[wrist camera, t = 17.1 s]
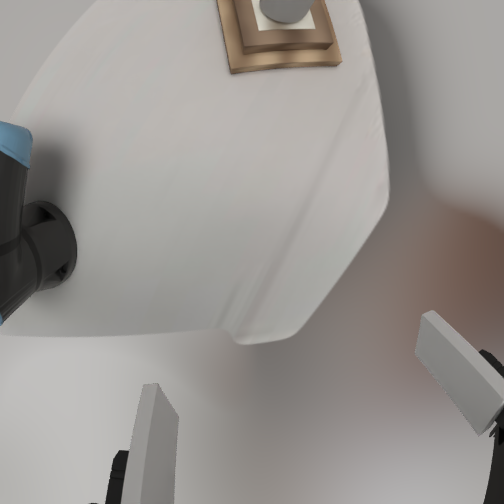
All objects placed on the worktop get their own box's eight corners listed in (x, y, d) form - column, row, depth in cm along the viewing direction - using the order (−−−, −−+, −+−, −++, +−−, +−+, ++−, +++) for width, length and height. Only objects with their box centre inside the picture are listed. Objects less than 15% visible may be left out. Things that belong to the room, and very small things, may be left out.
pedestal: (230, 74, 34) (231, 61, 28) (215, -7, 28) (213, -26, 23) (336, 66, 34) (351, 55, 29) (313, -12, 29) (323, -28, 23)
